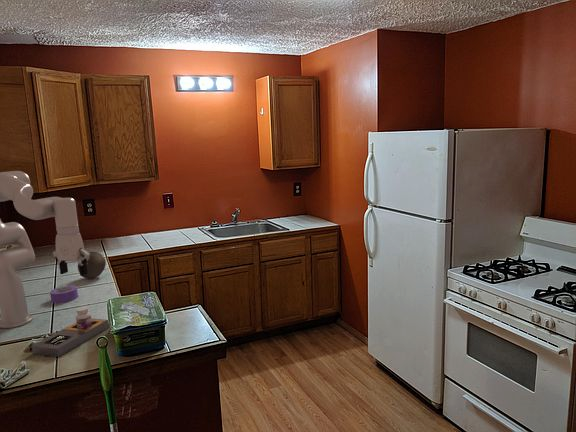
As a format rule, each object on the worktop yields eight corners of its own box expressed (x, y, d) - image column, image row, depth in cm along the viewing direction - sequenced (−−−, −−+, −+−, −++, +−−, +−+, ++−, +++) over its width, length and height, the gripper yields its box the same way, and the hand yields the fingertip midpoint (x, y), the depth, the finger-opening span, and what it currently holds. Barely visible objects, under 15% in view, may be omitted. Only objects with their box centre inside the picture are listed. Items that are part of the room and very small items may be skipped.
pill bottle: (75, 335, 171) (71, 311, 170) (84, 329, 176) (80, 306, 175) (87, 335, 170) (83, 311, 169) (96, 329, 175) (92, 306, 174)
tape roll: (79, 299, 214) (78, 289, 213) (52, 305, 208) (50, 295, 207) (76, 293, 224) (75, 283, 223) (50, 299, 218) (49, 289, 217)
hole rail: (32, 353, 158) (31, 345, 157) (85, 324, 181) (84, 317, 180) (58, 356, 154) (57, 348, 153) (109, 327, 177) (108, 319, 176)
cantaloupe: (86, 283, 238) (82, 256, 236) (75, 279, 248) (71, 253, 245) (111, 276, 248) (108, 250, 246) (100, 273, 258) (96, 247, 255)
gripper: (42, 232, 168) (48, 275, 171) (78, 233, 162) (84, 278, 165) (58, 227, 174) (64, 269, 178) (93, 229, 169) (99, 272, 172)
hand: (74, 273), depth 171 cm, fingers open, 9 cm apart
